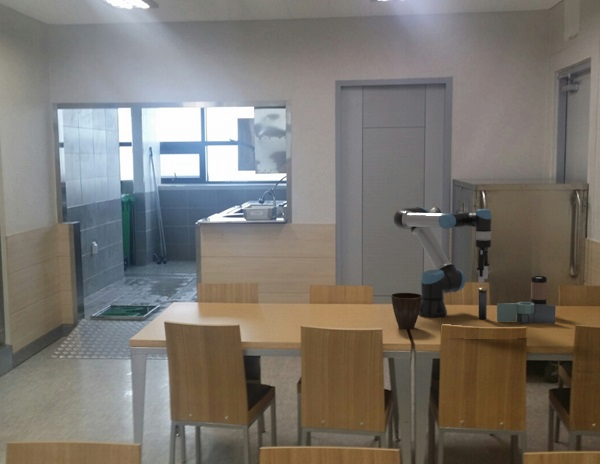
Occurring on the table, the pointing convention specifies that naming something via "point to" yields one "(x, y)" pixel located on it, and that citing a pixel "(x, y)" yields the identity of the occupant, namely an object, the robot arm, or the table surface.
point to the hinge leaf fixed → (539, 315)
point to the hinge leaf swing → (513, 310)
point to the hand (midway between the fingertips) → (483, 280)
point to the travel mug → (538, 290)
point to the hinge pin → (482, 303)
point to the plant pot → (406, 309)
